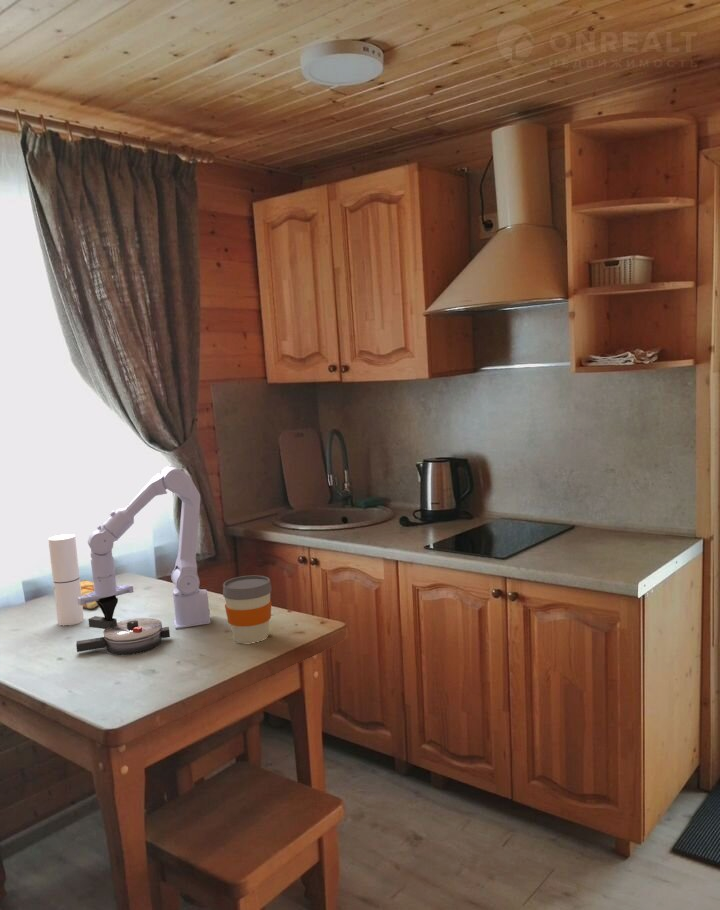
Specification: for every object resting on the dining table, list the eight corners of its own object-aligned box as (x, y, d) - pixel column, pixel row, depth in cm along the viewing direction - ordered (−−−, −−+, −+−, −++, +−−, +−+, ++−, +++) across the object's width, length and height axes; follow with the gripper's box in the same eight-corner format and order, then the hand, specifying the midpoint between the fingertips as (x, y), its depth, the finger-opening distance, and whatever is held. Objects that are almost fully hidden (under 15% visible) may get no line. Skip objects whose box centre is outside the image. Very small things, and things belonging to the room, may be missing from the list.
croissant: (104, 619, 231) (114, 594, 232) (72, 611, 226) (83, 585, 227) (86, 602, 249) (95, 579, 250) (56, 594, 243) (66, 570, 244)
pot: (168, 630, 207) (166, 618, 207) (172, 648, 193) (170, 635, 193) (78, 644, 200) (77, 632, 200) (76, 664, 187) (74, 650, 186)
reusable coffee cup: (250, 626, 206) (245, 573, 205) (285, 633, 199) (280, 578, 197) (216, 641, 196) (211, 585, 195) (251, 650, 189) (247, 591, 187)
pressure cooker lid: (173, 624, 201) (172, 615, 200) (136, 644, 187) (135, 634, 187) (111, 617, 210) (111, 608, 209) (71, 635, 196) (70, 626, 196)
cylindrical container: (68, 627, 215) (58, 541, 212) (52, 623, 219) (42, 539, 216) (89, 619, 221) (80, 535, 218) (73, 616, 225) (64, 533, 222)
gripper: (123, 566, 210) (128, 614, 212) (71, 578, 201) (76, 628, 202) (134, 571, 204) (139, 619, 206) (81, 583, 195) (86, 634, 197)
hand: (109, 624), depth 204 cm, fingers closed
